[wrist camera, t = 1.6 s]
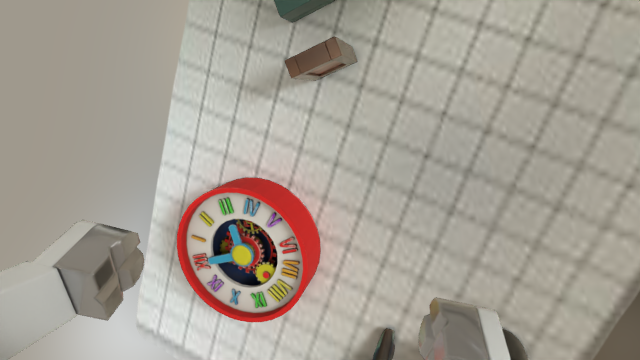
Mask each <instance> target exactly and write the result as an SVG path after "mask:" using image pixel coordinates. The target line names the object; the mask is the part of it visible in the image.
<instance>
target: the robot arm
mask: <svg viewBox="0 0 640 360" xmlns="http://www.w3.org/2000/svg"><path fill="white" fill-rule="evenodd" d="M139 243H140V239H139V236H138V233H135V232H132V231H128V230H124V229H120V228H116V227H112V226H108V225H104V224H99V223H95V222H90V221H86V220H81V221H79V222H76V223H75V224H74V225H73V226H72V227H70V228H69V229H68V230H67V231H66V232H65V233H64V234H63V235H62V236H60V237H59V238H58V239H57V240H56V241H55V242H54V243H53V244H52V245H50V246H49V247H48V249H46V250H45V251H44V252H43V253H42V254H40V255H39V256H38V257H37V258H36V259H35V260H34V261H33V262H28V261H26V262H23V263H21V264H18V265H15V266H13V267H11V268H8V269H6V270H3V271H1V272H0V360H8V359H10V358H11V357H13V356H14V355H16V354H18V353H19V352H21V351H22V350H24V349H25V348H27V347H29V346H30V345H32V344H34V343H35V342H37V341H38V340H40V339H41V338H43V337H44V336H46V335H48V334H49V333H51V332H53V331H54V330H56V329H57V328H59V327H60V326H62V325H64V324H65V323H67V322H68V321H70V320H72V319H73V318H75V317H76V316H77V315H76V314H78V315H83V316H88V317H93V318H98V319H102V320H109V318H110V317H111V315H112V314H113V313H114V312H115V310H116V309H117V308H118V306H119V305H120V304H121V302H122V301H123V291H125V290H127V289H129V288H131V287H133V286H134V285H135V283H136V282H137V280H138V279H139V277H140V275H141V272H142V270H143V266H144V257H143V253H142V252H141V251H140V250H139V249H138V248H137V245H138V244H139ZM419 352H420V354H421V355H422V357H423V358H424V360H511V358H510V355H509V351H508V348H507V344H506V341H505V337H504V334H503V330H502V327H501V323H500V320H499V316H498V314H497V312H496V311H495V310H492V309H487V308H483V307H478V306H473V305H470V304H465V303H460V302H456V301H451V300H446V299H441V298H434V299H433V300H432V302H431V304H430V314H428V315H426V316H424V319H423V321H422V323H421V327H420V332H419Z"/></svg>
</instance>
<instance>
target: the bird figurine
mask: <svg viewBox="0 0 640 360" xmlns="http://www.w3.org/2000/svg"><path fill="white" fill-rule="evenodd" d="M394 334H395V332H394V331H393V330H392V329H388V328H386V329H385V331H384V332H383V334H382V335H381V338H380V340H379V342H378V345H377V348H376V350H375V353H374V357H373V360H392V357H393V354H394V347H395V345H394V343H393V341H394Z"/></svg>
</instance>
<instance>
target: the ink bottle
mask: <svg viewBox="0 0 640 360" xmlns="http://www.w3.org/2000/svg"><path fill="white" fill-rule="evenodd" d="M502 330H503V334H504V337H505V341H506V344H507V348H508V351H509V355H510V358H511V360H528V358H527V355H526V353H525V350H524V348H523V346H522V344H521V342H520V341H519V340H518V339H517V338H516V337H515V336H514V335H513V334H512V333H510V332H508V331H506V330H504V329H502Z"/></svg>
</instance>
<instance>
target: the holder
mask: <svg viewBox="0 0 640 360" xmlns="http://www.w3.org/2000/svg"><path fill="white" fill-rule="evenodd" d="M333 1H335V0H274V2H275V4H276V7H277V9H278V12H279V15H280V17H282V18H284V19H286V20H288V21H290V22H292V23H293V22H295V21H297V20H299V19H301V18H303V17H304V16H306V15H308V14H310V13H312V12H314V11H316V10H318V9H320V8H322V7H324V6H326V5H327V4H329V3H331V2H333Z"/></svg>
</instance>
